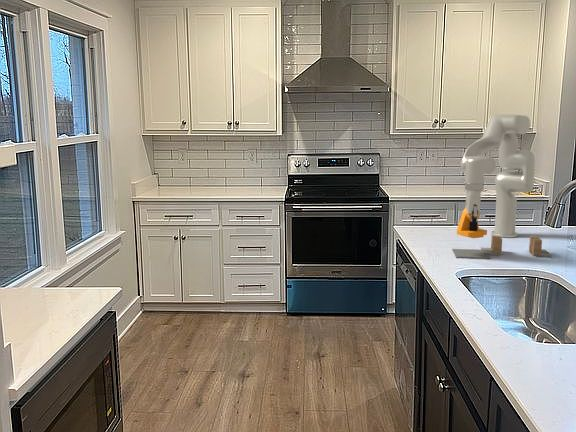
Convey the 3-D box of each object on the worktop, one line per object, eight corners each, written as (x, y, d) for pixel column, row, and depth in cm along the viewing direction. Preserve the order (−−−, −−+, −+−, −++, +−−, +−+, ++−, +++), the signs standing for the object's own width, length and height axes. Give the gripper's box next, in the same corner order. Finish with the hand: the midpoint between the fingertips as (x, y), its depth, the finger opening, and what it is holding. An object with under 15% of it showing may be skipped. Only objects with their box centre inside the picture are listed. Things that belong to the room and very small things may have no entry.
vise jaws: (480, 249, 250) (481, 234, 249) (545, 251, 246) (546, 236, 244) (484, 255, 240) (485, 239, 239) (551, 257, 236) (552, 241, 235)
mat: (452, 250, 250) (452, 248, 250) (485, 251, 248) (485, 249, 248) (456, 257, 237) (456, 256, 237) (490, 258, 234) (491, 257, 234)
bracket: (469, 239, 235) (470, 210, 233) (456, 236, 241) (457, 208, 239) (487, 236, 239) (489, 208, 238) (474, 233, 246) (476, 206, 244)
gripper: (462, 184, 246) (460, 225, 249) (467, 189, 229) (465, 233, 233) (480, 185, 245) (478, 225, 248) (487, 189, 228) (484, 233, 231)
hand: (472, 229), depth 240 cm, fingers closed on bracket, 4 cm apart
